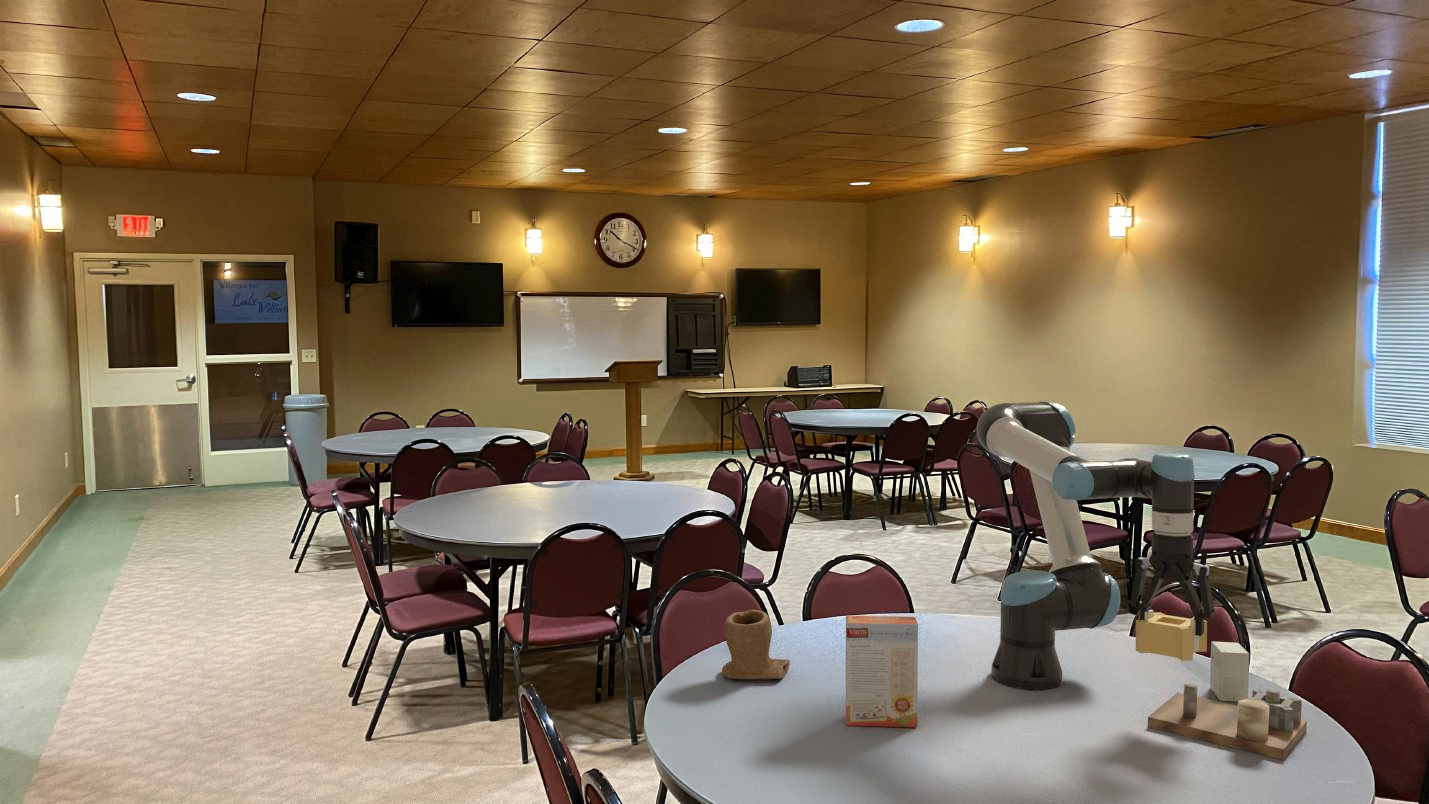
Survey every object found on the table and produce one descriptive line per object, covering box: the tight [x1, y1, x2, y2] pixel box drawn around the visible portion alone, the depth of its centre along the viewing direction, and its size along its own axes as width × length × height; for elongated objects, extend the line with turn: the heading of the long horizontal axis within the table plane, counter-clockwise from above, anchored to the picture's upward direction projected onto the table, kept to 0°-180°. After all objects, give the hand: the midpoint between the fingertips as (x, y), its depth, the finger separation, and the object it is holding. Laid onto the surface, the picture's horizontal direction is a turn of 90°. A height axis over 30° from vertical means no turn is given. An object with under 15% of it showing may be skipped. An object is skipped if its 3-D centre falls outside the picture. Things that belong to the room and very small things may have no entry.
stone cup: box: [721, 609, 791, 680], centre depth 234 cm, size 15×12×15 cm
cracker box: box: [845, 615, 919, 728], centre depth 207 cm, size 14×6×21 cm, turn 84°
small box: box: [1209, 640, 1250, 703], centre depth 222 cm, size 8×6×10 cm
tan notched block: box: [1135, 612, 1208, 662], centre depth 207 cm, size 11×11×6 cm
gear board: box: [1147, 683, 1308, 761], centre depth 204 cm, size 24×18×8 cm
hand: (1171, 647), depth 207 cm, fingers closed on tan notched block, 8 cm apart
